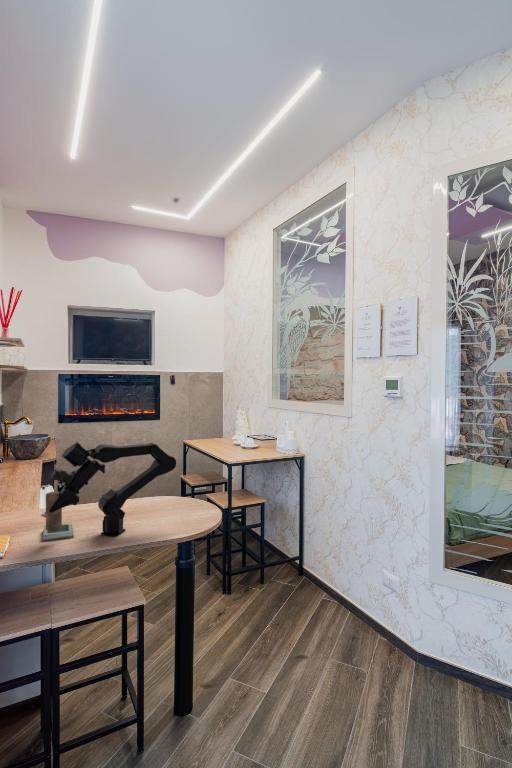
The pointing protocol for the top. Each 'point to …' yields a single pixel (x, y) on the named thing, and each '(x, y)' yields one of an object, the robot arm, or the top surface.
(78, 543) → the top surface
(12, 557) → the top surface
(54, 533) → the green square tray
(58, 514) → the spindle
